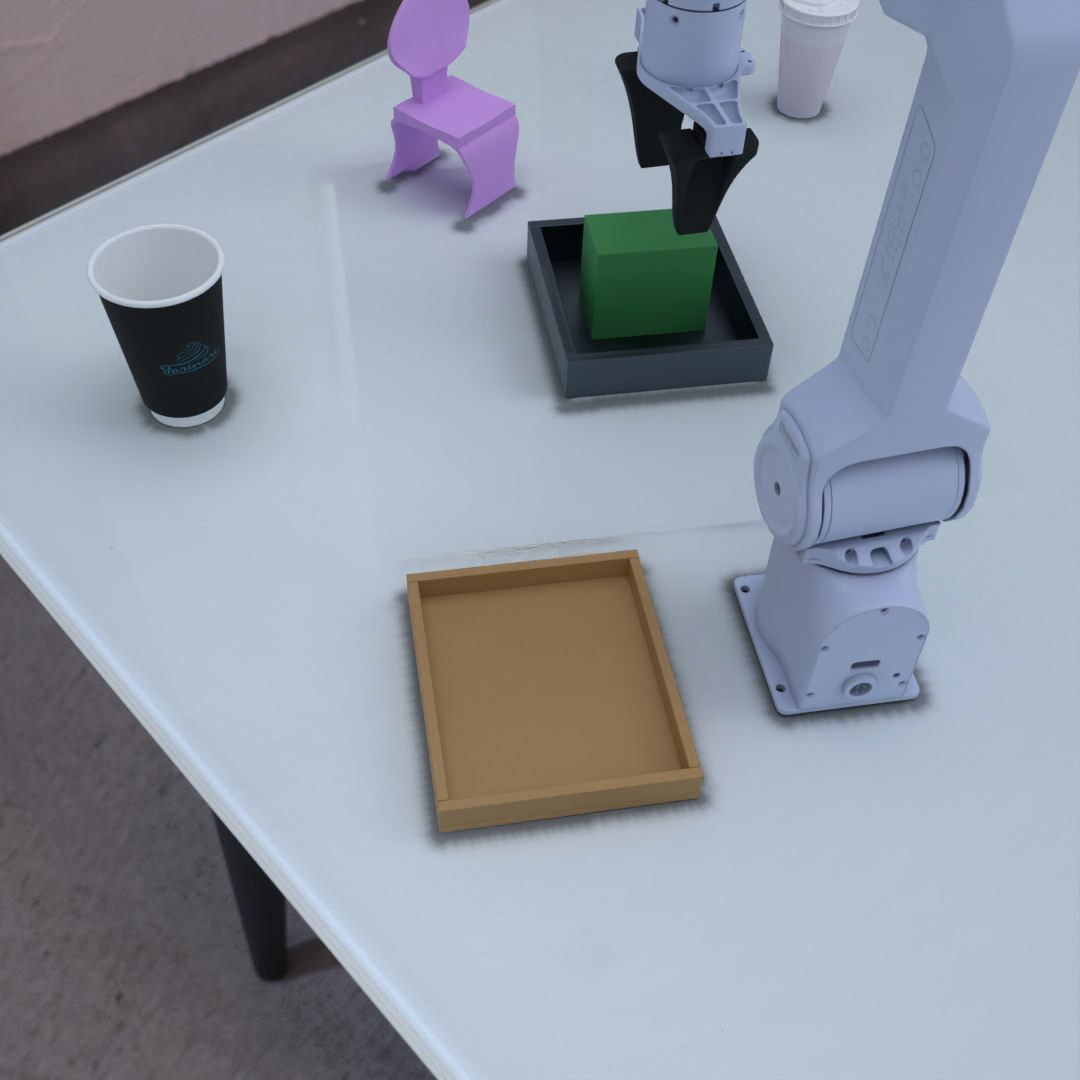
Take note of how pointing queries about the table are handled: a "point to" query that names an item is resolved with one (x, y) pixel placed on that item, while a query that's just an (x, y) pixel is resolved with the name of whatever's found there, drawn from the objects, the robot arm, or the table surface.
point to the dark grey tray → (651, 360)
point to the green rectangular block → (644, 275)
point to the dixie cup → (167, 317)
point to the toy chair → (448, 102)
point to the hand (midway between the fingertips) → (672, 196)
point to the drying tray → (547, 691)
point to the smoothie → (810, 51)
